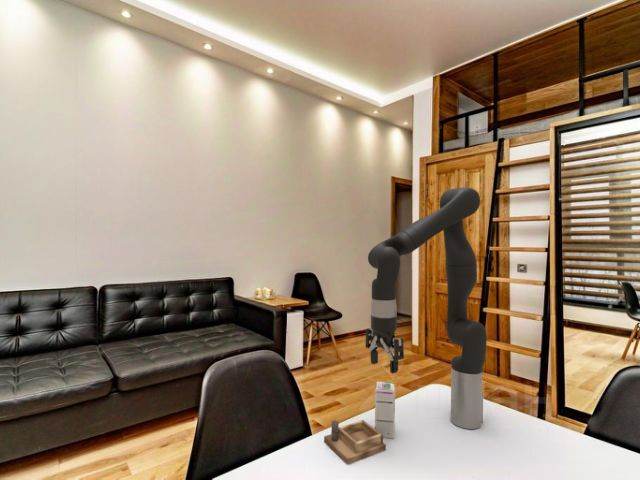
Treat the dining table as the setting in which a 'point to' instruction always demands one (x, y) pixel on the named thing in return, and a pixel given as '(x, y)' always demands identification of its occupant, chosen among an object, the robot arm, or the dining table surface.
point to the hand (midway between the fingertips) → (383, 368)
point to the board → (355, 441)
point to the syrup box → (385, 409)
